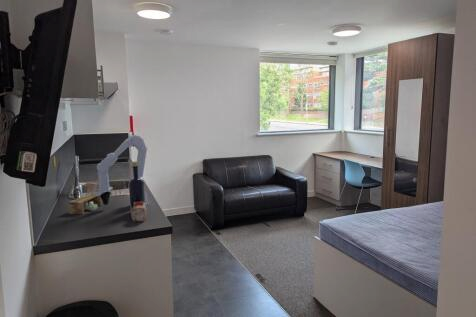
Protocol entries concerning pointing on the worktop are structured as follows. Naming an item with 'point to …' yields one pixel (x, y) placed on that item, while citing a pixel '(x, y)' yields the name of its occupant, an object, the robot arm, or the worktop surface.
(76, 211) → the wooden arch bridge
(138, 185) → the bottle
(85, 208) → the tray
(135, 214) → the food item
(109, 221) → the worktop surface
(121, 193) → the worktop surface
